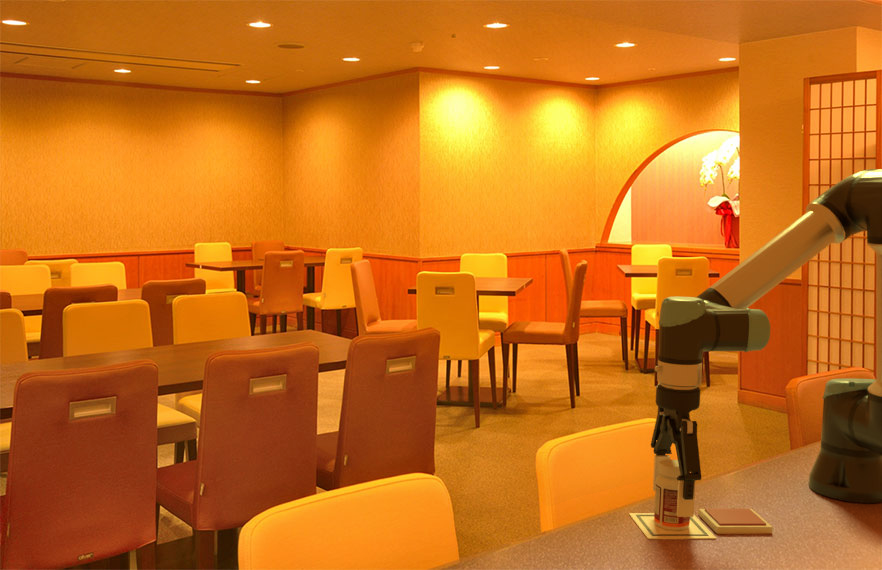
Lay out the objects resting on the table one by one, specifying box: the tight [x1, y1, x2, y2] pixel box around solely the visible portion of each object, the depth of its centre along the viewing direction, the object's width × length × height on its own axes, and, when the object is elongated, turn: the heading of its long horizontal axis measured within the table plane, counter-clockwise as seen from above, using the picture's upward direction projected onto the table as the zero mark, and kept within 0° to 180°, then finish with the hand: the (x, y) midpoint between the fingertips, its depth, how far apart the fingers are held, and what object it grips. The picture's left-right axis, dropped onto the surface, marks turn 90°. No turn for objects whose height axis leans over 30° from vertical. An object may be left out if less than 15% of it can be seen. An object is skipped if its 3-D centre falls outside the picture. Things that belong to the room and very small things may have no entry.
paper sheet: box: [628, 512, 717, 540], centre depth 161 cm, size 12×12×1 cm
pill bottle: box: [653, 458, 690, 530], centre depth 160 cm, size 6×6×11 cm
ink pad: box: [698, 508, 773, 535], centre depth 163 cm, size 10×9×2 cm
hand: (672, 502), depth 160 cm, fingers open, 13 cm apart
